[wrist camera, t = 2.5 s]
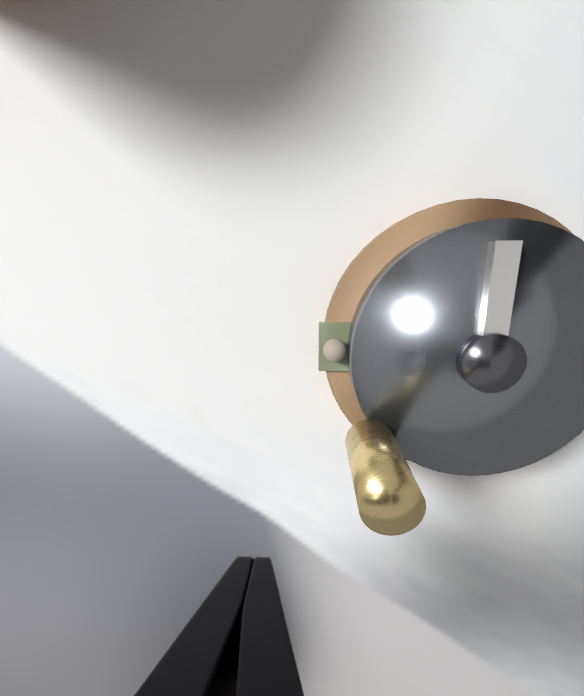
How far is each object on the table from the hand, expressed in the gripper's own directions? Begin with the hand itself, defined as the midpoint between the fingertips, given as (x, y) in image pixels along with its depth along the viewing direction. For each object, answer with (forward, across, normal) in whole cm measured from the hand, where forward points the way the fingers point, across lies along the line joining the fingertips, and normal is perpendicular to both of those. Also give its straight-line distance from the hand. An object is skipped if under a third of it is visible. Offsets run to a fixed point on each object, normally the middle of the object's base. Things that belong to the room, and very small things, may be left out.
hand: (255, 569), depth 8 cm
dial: (+6, -7, -4) cm, 10 cm away
